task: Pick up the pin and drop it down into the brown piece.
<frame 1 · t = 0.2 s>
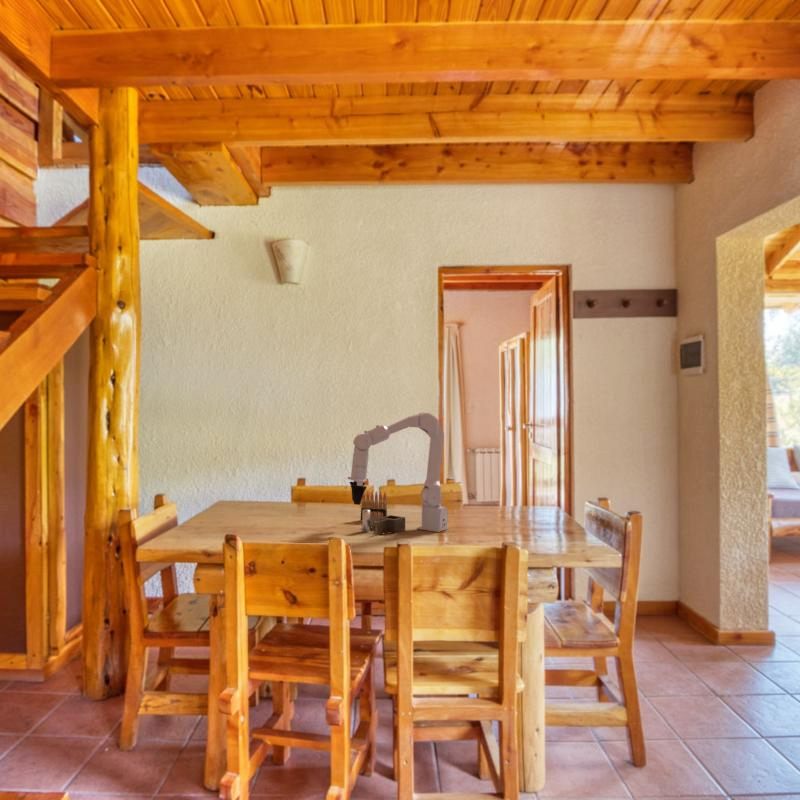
hand: (356, 502, 224), 10 cm above the table, tool pointing down, fingers open, 7 cm apart
pin: (366, 531, 223), on the table
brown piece: (392, 530, 225), on the table
ammunition clip: (373, 521, 243), on the table
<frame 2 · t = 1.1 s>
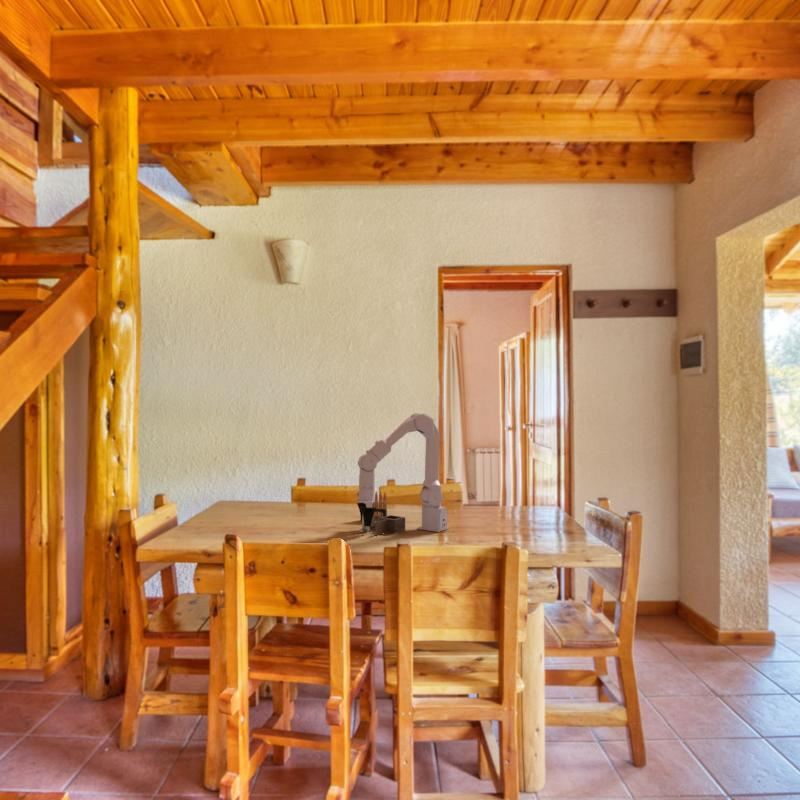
hand: (366, 524, 223), 3 cm above the table, tool pointing down, fingers open, 7 cm apart
nothing on the table moved.
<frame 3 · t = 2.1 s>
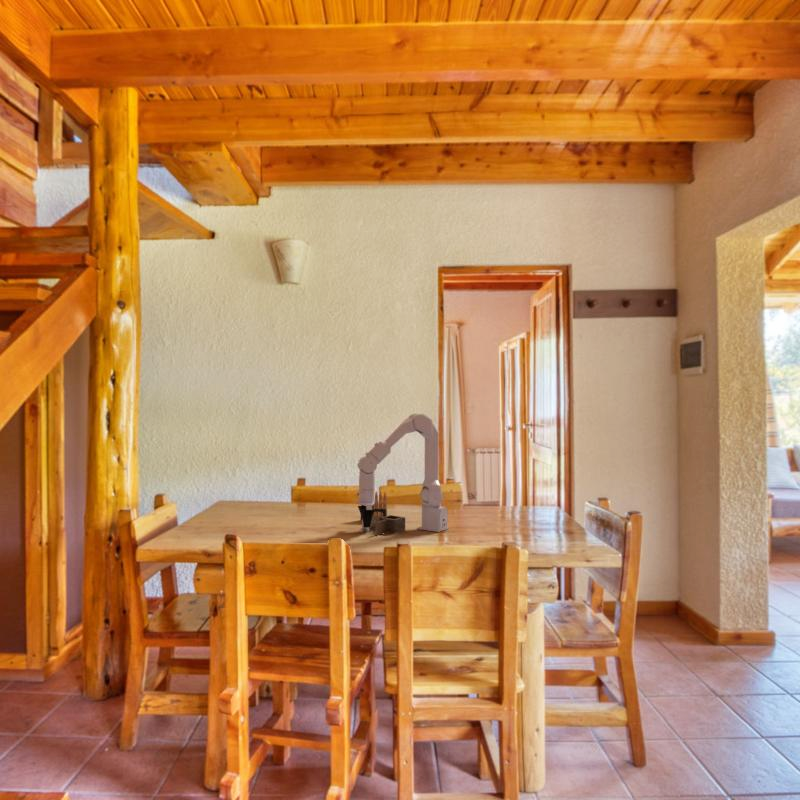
hand: (366, 526, 223), 2 cm above the table, tool pointing down, fingers closed on pin, 3 cm apart
pin: (366, 531, 223), on the table, touching gripper
everything else where it was.
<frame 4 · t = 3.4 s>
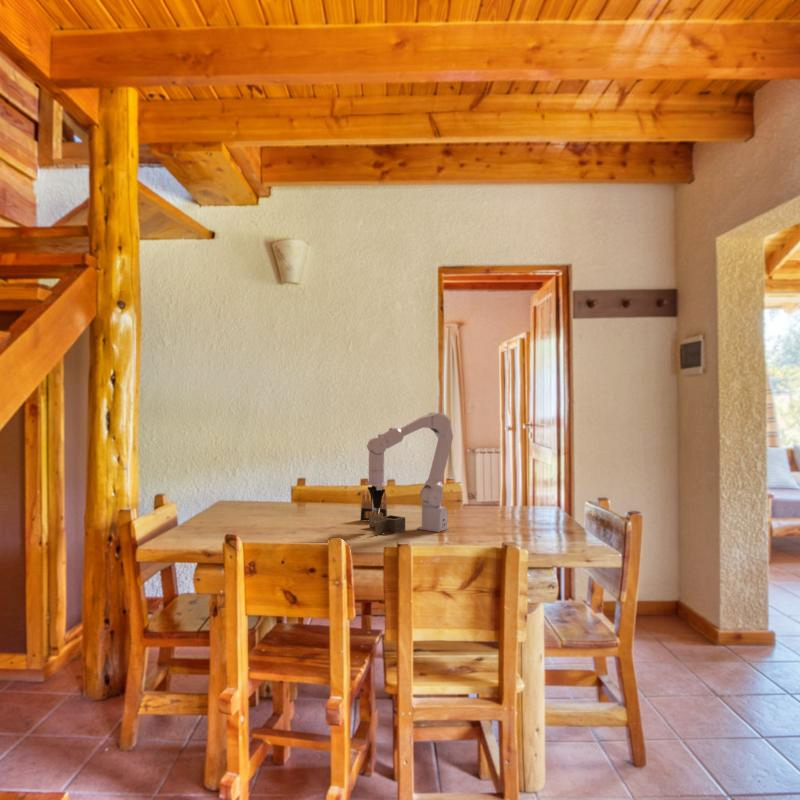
hand: (376, 507, 223), 9 cm above the table, tool pointing down, fingers closed on pin, 3 cm apart
pin: (376, 512, 223), point 7 cm above the table, touching gripper
everything else where it was.
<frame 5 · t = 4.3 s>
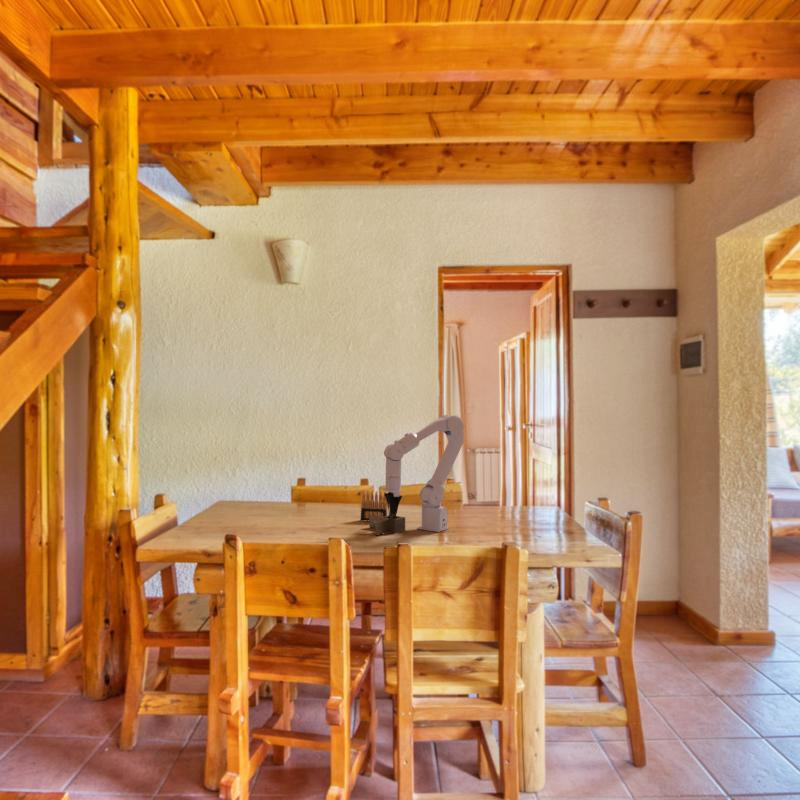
hand: (392, 513, 225), 7 cm above the table, tool pointing down, fingers closed on pin, 3 cm apart
pin: (392, 518, 225), point 5 cm above the table, touching gripper
everything else where it was.
when the fingers open (6 cm above the table, at t = 4.7 s): pin drops 4 cm, resting in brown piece.
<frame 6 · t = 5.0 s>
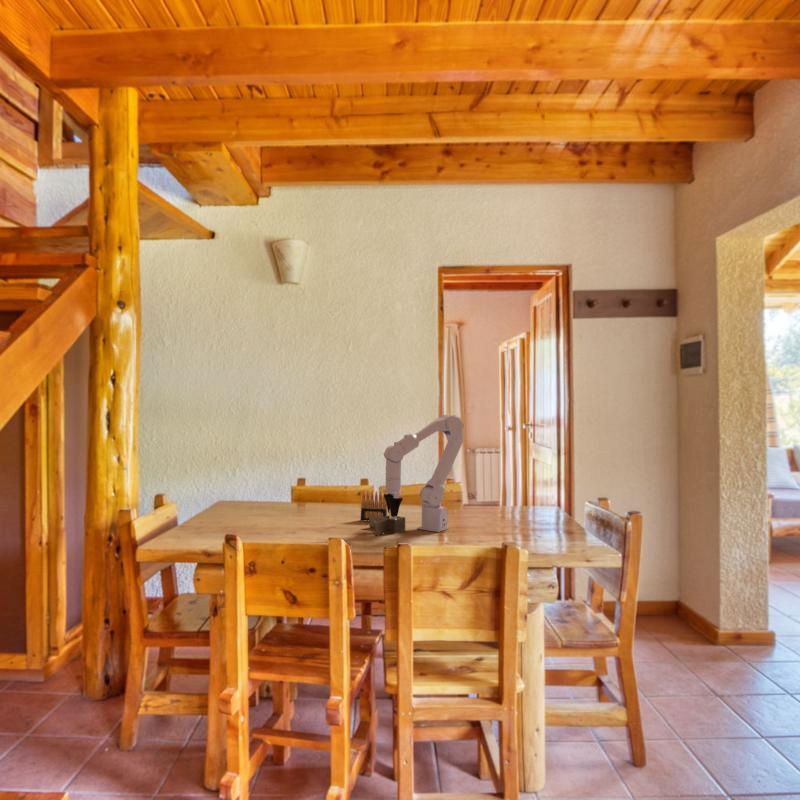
hand: (392, 514, 225), 6 cm above the table, tool pointing down, fingers open, 5 cm apart
pin: (392, 530, 225), resting in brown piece
everything else where it was.
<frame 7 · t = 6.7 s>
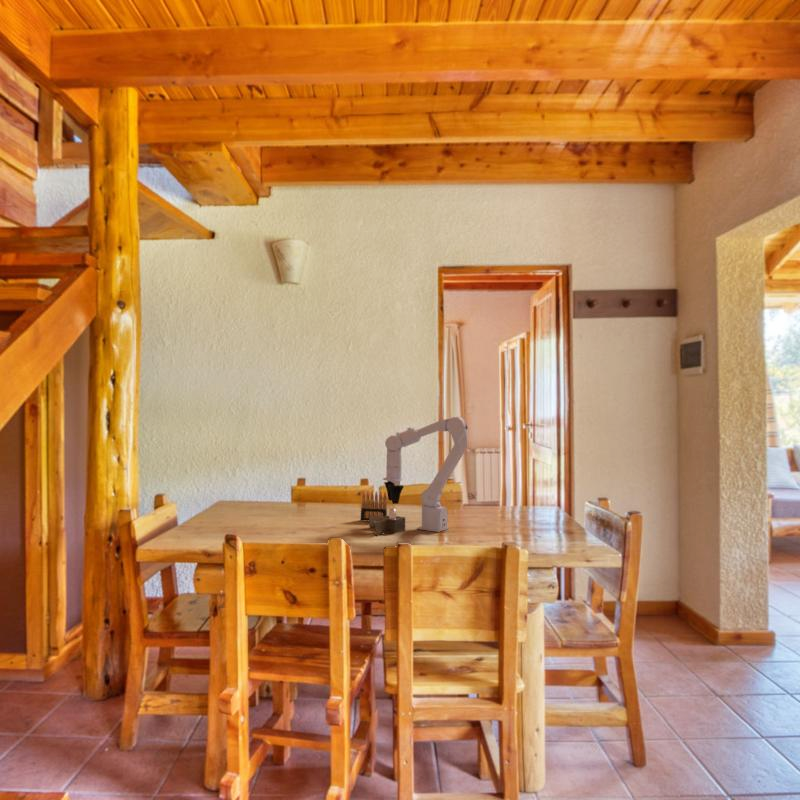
hand: (393, 501, 233), 9 cm above the table, tool pointing down, fingers open, 7 cm apart
nothing on the table moved.
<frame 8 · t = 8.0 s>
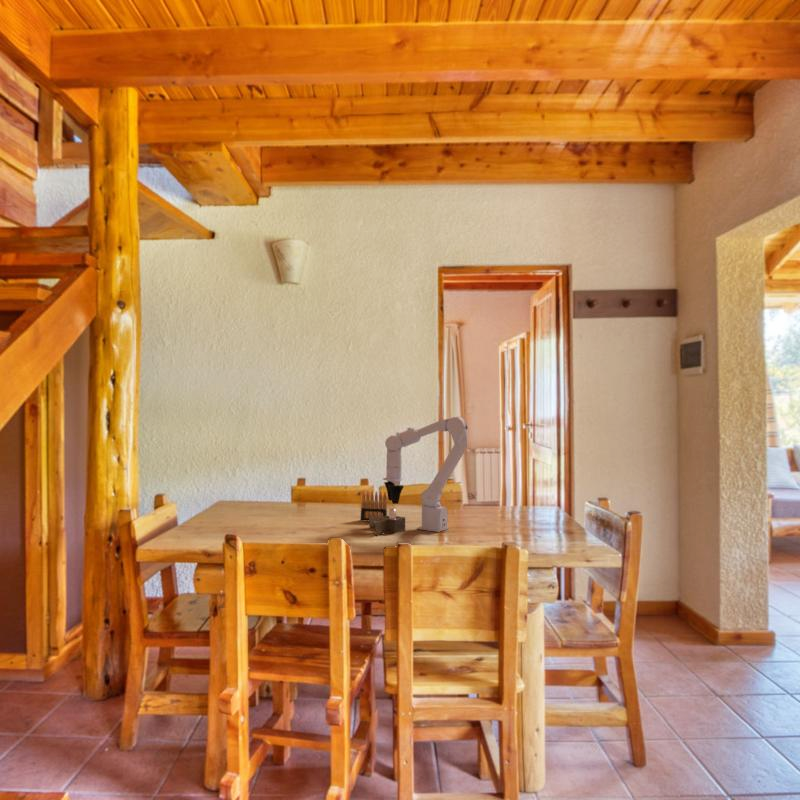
hand: (393, 501, 233), 9 cm above the table, tool pointing down, fingers open, 7 cm apart
nothing on the table moved.
at the end: pin 0.0 cm off-centre on the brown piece, point 0.0 cm above the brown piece's base; pin tilted 0°; the gripper is holding nothing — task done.
